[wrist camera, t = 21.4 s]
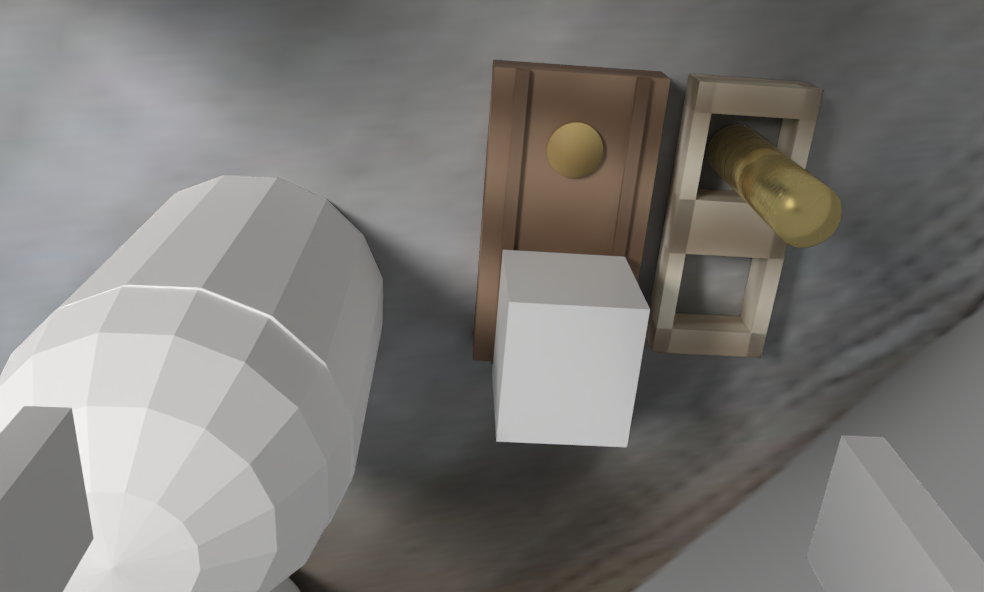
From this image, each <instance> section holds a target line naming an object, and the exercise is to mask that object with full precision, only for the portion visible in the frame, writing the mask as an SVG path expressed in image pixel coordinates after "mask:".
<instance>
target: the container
mask: <svg viewBox="0 0 984 592" xmlns="http://www.w3.org/2000/svg"><path fill="white" fill-rule="evenodd" d="M382 326H383V278H382V276H381V273H380V271H379V269H378V266H377V264H376V262H375V260H374V257H373V255H372V253H371V251H370V248H369V246H368V244H367V241H366V239H365V237H364V235H363V234H362V233H361V232H360V231H359V230H358V229H357V228H356V227H355V226H354V225H353V224H352V223H351V222H350V221H349V220H348V219H346V218H345V217H344V216H343V215H342V214H341V213H340V212H339V211H338V210H337V209H336V208H335V207H334V206H333V205H332V204H331V203H330V202H329V201H328V200H327V199H325V198H323V197H320V196H318V195H316V194H313V193H311V192H309V191H307V190H304V189H302V188H300V187H297V186H295V185H293V184H290V183H288V182H286V181H284V180H281V179H279V178H272V177H251V176H230V175H223V176H220V177H217V178H215V179H212V180H209V181H206V182H204V183H201V184H198V185H195V186H192V187H190V188H187V189H184V190H181V191H178V192H176V193H175V194H174V195H173V196H172V197H171V198H170V199H169V200H168V201H167V202H166V203H165V204H164V205H163V206H162V207H161V208H160V209H159V210H158V211H157V212H156V213H155V214H154V215H153V216H152V217H151V218H150V219H149V220H148V221H146V222H145V223H144V224H143V225H142V226H141V227H140V228H139V229H138V230H137V231H136V232H135V233H134V234H133V235H132V236H131V237H130V238H129V239H128V240H127V241H126V242H125V243H124V244H123V245H122V246H121V247H120V248H119V249H118V250H117V251H116V252H115V253H114V254H113V255H112V256H111V257H110V258H109V259H108V260H107V261H106V262H105V263H104V264H103V265H102V266H101V267H100V268H99V269H98V270H97V271H96V272H95V273H94V274H93V275H92V276H91V277H90V278H89V279H88V280H87V281H86V282H85V283H84V284H83V285H82V286H80V287H79V288H78V289H77V290H76V291H75V292H74V293H73V294H72V295H71V296H70V297H69V298H68V299H67V300H66V301H65V302H64V303H63V304H62V305H61V306H60V307H59V308H58V309H56V310H55V311H54V312H53V313H52V314H51V315H50V316H49V317H48V318H47V319H46V320H45V321H44V322H43V323H42V324H41V325H40V326H39V327H38V328H37V329H36V330H35V331H34V332H33V333H32V334H31V335H30V336H29V337H28V338H27V339H26V340H25V341H24V342H23V343H22V344H21V345H20V346H19V347H18V348H17V349H16V350H15V351H13V352H12V354H11V356H10V358H9V359H8V361H7V363H6V365H5V367H4V369H3V371H2V373H1V375H0V433H1V432H2V431H3V430H4V428H5V427H6V426H7V425H8V424H9V423H10V422H11V420H12V419H13V418H14V417H15V416H16V415H17V414H18V412H19V411H20V410H21V409H22V408H23V407H24V406H39V407H67V408H72V412H73V418H74V424H75V430H76V436H77V442H78V448H79V454H80V460H81V466H82V472H83V478H84V484H85V490H86V496H87V502H88V508H89V514H90V519H91V525H92V531H93V537H94V539H93V540H92V542H91V544H90V546H89V547H88V549H87V551H86V552H85V554H84V556H83V558H82V559H81V561H80V563H79V565H78V566H77V568H76V570H75V571H74V573H73V575H72V577H71V578H70V580H69V582H68V584H67V585H66V587H65V589H64V591H63V592H269V591H271V590H272V589H273V588H275V587H276V586H277V585H278V584H280V583H281V582H282V581H284V580H285V579H286V578H288V577H289V576H290V575H291V574H293V573H294V572H295V571H297V570H298V569H299V568H301V567H302V566H303V565H304V564H305V563H306V562H307V560H308V558H309V556H310V554H311V553H312V551H313V549H314V547H315V545H316V543H317V542H318V540H319V538H320V536H321V534H322V533H323V531H324V529H325V527H326V526H327V525H328V524H330V522H331V520H332V518H333V516H334V514H335V512H336V510H337V508H338V506H339V504H340V502H341V500H342V498H343V496H344V494H345V492H346V490H347V488H348V486H349V484H350V482H351V480H352V478H353V476H354V472H355V467H356V461H357V456H358V451H359V446H360V441H361V435H362V430H363V425H364V420H365V414H366V409H367V404H368V399H369V393H370V388H371V383H372V378H373V373H374V367H375V362H376V357H377V352H378V346H379V341H380V336H381V331H382Z"/></svg>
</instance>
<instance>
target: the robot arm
mask: <svg viewBox="0 0 984 592" xmlns="http://www.w3.org/2000/svg"><path fill="white" fill-rule="evenodd" d="M93 539H94V537H93V531H92V525H91V519H90V514H89V508H88V502H87V496H86V490H85V484H84V478H83V472H82V466H81V460H80V454H79V448H78V442H77V436H76V430H75V424H74V418H73V412H72V408H67V407H39V406H24V407H23V408H22V409H21V410H20V411H19V412H18V414H17V415H16V416H15V417H14V418H13V419H12V420H11V422H10V423H9V424H8V425H7V426H6V427H5V428H4V430H3V431H2V432H1V433H0V592H63V591H64V589H65V587H66V585H67V584H68V582H69V580H70V578H71V577H72V575H73V573H74V571H75V570H76V568H77V566H78V565H79V563H80V561H81V559H82V558H83V556H84V554H85V552H86V551H87V549H88V547H89V546H90V544H91V542H92V540H93ZM807 560H808V561H809V563H810V565H811V567H812V569H813V571H814V573H815V575H816V576H817V578H818V580H819V582H820V584H821V585H822V587H823V589H824V591H825V592H984V562H983V560H982V559H981V558H980V556H979V555H978V554H977V553H976V551H975V550H974V549H973V548H972V546H971V545H970V544H969V543H968V541H967V540H966V539H965V538H964V536H963V535H962V534H961V533H960V531H959V530H958V529H957V528H956V527H955V525H954V524H953V523H952V521H951V520H950V519H949V518H948V516H947V515H946V514H945V513H944V512H943V510H942V509H941V508H940V507H939V505H938V504H937V503H936V501H935V500H934V499H933V498H932V497H931V495H930V494H929V493H928V492H927V491H926V489H925V488H924V487H923V485H922V484H921V483H920V481H919V480H918V479H917V478H916V476H915V475H914V474H913V473H912V472H911V470H910V469H909V468H908V466H907V465H906V464H905V463H904V462H903V460H902V459H901V458H900V457H899V455H898V454H897V453H896V452H895V450H894V449H893V448H892V447H891V445H890V444H889V443H888V442H887V440H886V439H885V438H884V437H872V436H843V435H842V436H841V439H840V442H839V446H838V449H837V453H836V456H835V460H834V463H833V467H832V470H831V474H830V477H829V481H828V484H827V488H826V491H825V495H824V498H823V502H822V505H821V509H820V512H819V515H818V519H817V522H816V526H815V529H814V533H813V537H812V540H811V543H810V547H809V550H808V554H807Z"/></svg>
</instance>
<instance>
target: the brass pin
mask: <svg viewBox="0 0 984 592" xmlns="http://www.w3.org/2000/svg"><path fill="white" fill-rule="evenodd" d="M707 158H708V161H709V163H710V165H711V167H712V168H713V169H714V170H715V171H716V172H717V173H718V174H719V175H720V176H721V177H722V178H723V179H724V180H725V181H726V182H727V183H728V184H729V185H730V186H731V187H732V188H733V189H734V190H735V191H736V193H737V194H738V195H739V196H740V197H741V198H742V199H743V200H744V201H745V202H746V203H747V204H748V205H749V206H750V207H751V208H752V209H753V210H754V211H755V212H756V213H757V214H758V215H759V216H760V217H761V218H762V219H763V220H764V221H765V222H766V223H767V224H768V225H769V226H770V227H771V228H772V229H773V230H774V231H775V233H776V234H777V235H778V236H779V237H780V238H781V239H782V240H783V241H785V242H786V243H787V244H789V245H792V246H795V247H801V248H806V247H812V246H815V245H818V244H820V243H822V242H823V241H825V240H826V239H828V238H829V237H830V236H831V235H832V234H833V233H834V231H835V230H836V229H837V227H838V225H839V223H840V220H841V216H842V205H841V201H840V199H839V197H838V196H837V194H836V193H835V192H834V191H833V190H832V189H830V188H829V187H828V186H826V185H825V184H824V183H822V182H821V181H820V180H818V179H817V178H816V177H814V176H813V175H812V174H810V173H809V172H808V171H806V170H805V169H804V168H802V167H801V166H800V165H798V164H797V163H796V162H795V161H793V160H792V159H791V158H789V157H788V156H787V155H785V154H784V153H783V152H781V151H780V150H779V149H777V148H776V147H775V146H773V145H772V144H771V143H769V142H768V141H767V140H765V139H764V138H763V137H761V136H760V135H759V134H757V133H756V132H755V131H753V130H752V129H751V128H749V127H747V126H745V125H742V124H731V125H727V126H725V127H723V128H721V129H720V130H718V131H717V132H716V133H715V134H714V135H713V137H712V138H711V140H710V142H709V144H708V148H707Z"/></svg>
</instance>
